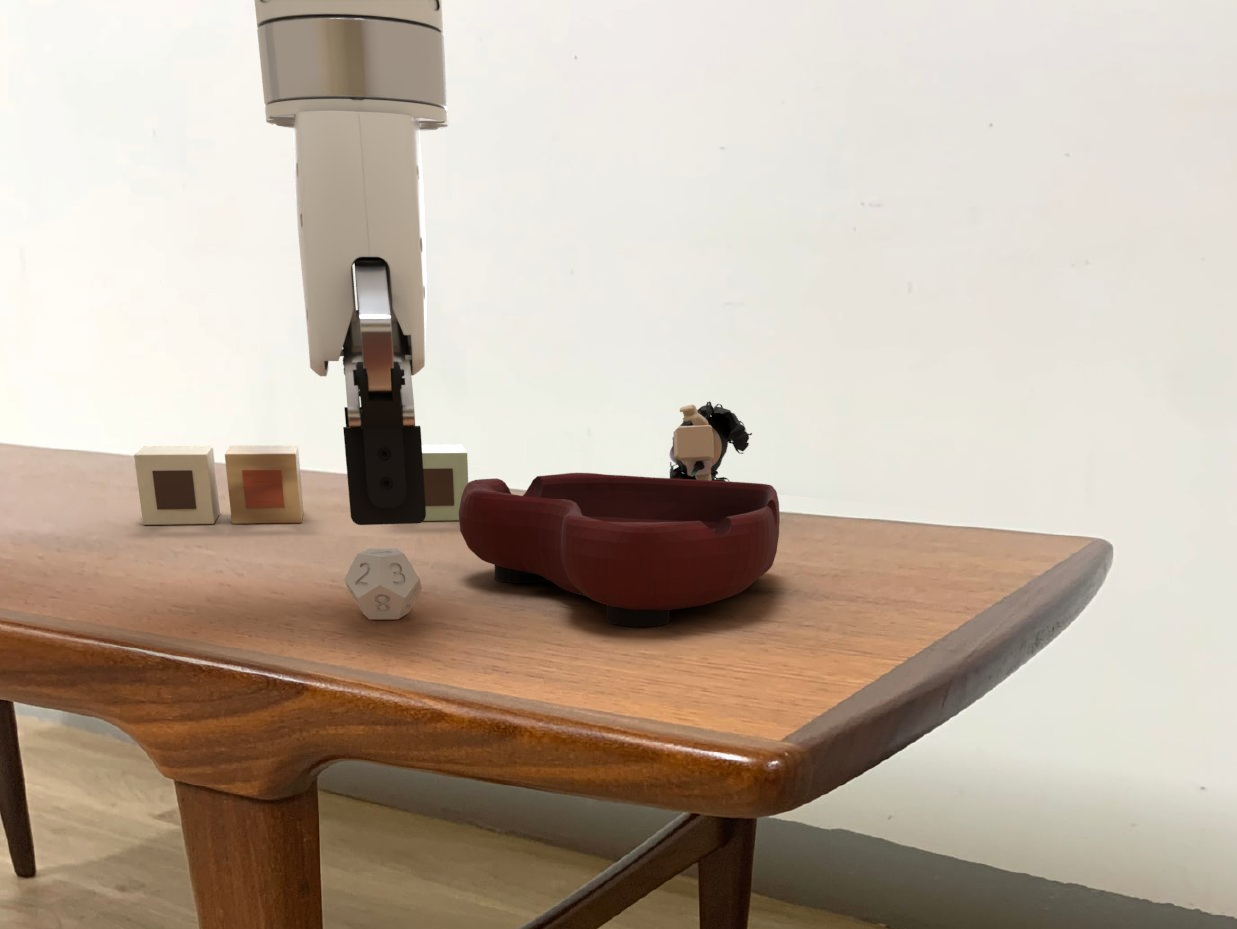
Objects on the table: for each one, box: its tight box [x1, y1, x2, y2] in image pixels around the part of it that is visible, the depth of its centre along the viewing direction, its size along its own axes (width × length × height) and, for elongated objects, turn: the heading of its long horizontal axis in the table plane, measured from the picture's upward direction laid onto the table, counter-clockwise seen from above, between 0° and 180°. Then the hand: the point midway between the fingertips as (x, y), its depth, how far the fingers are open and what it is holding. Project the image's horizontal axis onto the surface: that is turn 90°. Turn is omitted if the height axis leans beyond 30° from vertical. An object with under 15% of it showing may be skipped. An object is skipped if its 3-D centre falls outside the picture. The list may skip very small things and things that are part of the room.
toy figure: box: [669, 401, 753, 482], centre depth 96 cm, size 7×6×15 cm
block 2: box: [224, 445, 304, 525], centre depth 88 cm, size 4×4×4 cm
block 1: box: [133, 445, 221, 526], centre depth 87 cm, size 4×4×4 cm
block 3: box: [422, 444, 469, 522], centre depth 90 cm, size 4×4×4 cm
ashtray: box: [459, 472, 781, 628], centre depth 70 cm, size 18×16×5 cm
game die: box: [343, 548, 422, 620], centre depth 64 cm, size 4×4×3 cm
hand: (386, 505), depth 62 cm, fingers open, 9 cm apart
